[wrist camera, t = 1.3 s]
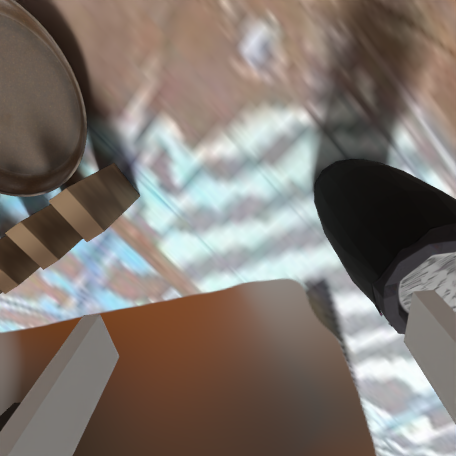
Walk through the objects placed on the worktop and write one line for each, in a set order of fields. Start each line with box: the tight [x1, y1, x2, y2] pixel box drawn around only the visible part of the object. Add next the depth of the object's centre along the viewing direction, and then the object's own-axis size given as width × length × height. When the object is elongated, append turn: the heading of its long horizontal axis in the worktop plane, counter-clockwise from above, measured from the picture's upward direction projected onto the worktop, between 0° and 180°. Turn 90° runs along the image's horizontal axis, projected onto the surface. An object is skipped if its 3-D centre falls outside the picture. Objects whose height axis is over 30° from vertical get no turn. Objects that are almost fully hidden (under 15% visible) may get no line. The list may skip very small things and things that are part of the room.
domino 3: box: [49, 163, 140, 242], centre depth 30 cm, size 5×2×10 cm, turn 32°
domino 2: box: [5, 204, 83, 270], centre depth 32 cm, size 5×2×10 cm, turn 32°
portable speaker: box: [314, 159, 456, 334], centre depth 25 cm, size 9×9×20 cm
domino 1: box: [0, 235, 40, 294], centre depth 34 cm, size 5×2×10 cm, turn 32°
